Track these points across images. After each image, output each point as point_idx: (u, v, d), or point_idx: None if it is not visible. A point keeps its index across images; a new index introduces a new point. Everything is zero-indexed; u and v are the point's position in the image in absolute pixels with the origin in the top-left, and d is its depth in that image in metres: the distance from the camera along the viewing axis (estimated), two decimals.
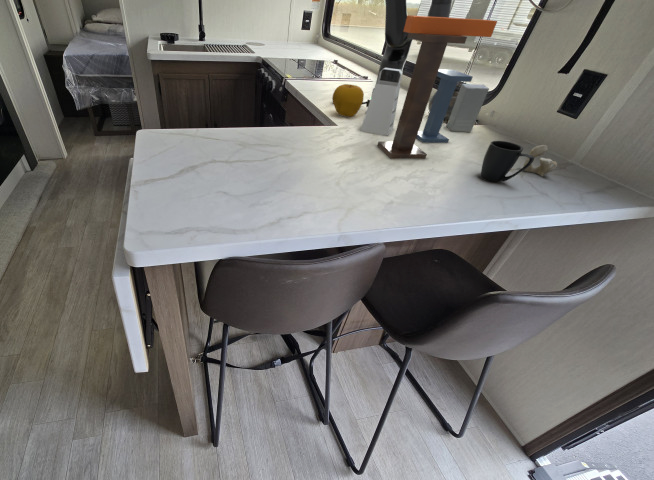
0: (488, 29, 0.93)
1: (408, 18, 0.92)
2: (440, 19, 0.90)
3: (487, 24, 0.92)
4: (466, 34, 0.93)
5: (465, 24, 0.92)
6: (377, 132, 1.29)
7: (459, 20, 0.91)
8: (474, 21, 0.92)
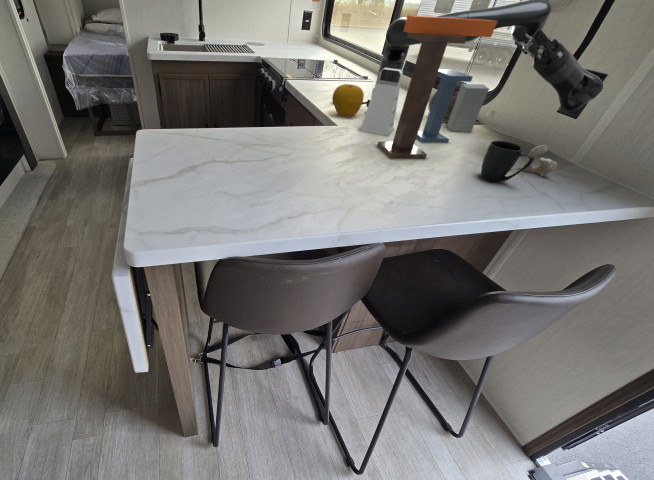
0: (488, 29, 0.93)
1: (408, 18, 0.92)
2: (440, 19, 0.90)
3: (487, 24, 0.92)
4: (466, 34, 0.93)
5: (465, 24, 0.92)
6: (377, 132, 1.29)
7: (459, 20, 0.91)
8: (474, 21, 0.92)
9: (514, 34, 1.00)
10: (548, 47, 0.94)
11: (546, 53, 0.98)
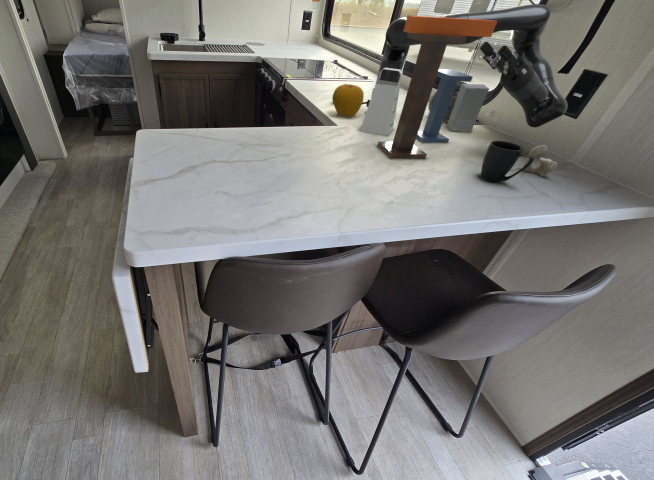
0: (488, 29, 0.93)
1: (408, 18, 0.92)
2: (440, 19, 0.90)
3: (487, 24, 0.92)
4: (466, 34, 0.93)
5: (465, 24, 0.92)
6: (377, 132, 1.29)
7: (459, 20, 0.91)
8: (474, 21, 0.92)
9: (482, 49, 1.01)
10: (513, 63, 0.95)
11: (511, 69, 0.99)
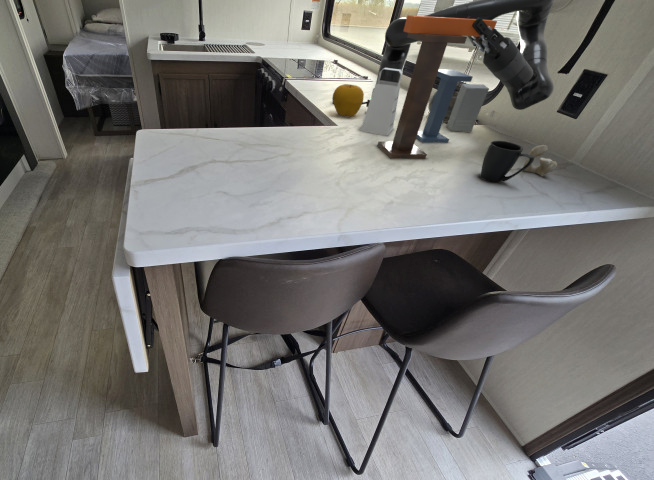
0: None
1: (408, 18, 0.92)
2: (440, 19, 0.90)
3: (487, 24, 0.92)
4: (466, 34, 0.93)
5: (465, 24, 0.92)
6: (377, 132, 1.29)
7: (459, 20, 0.91)
8: (474, 21, 0.92)
9: None
10: (488, 36, 0.92)
11: (494, 47, 0.95)
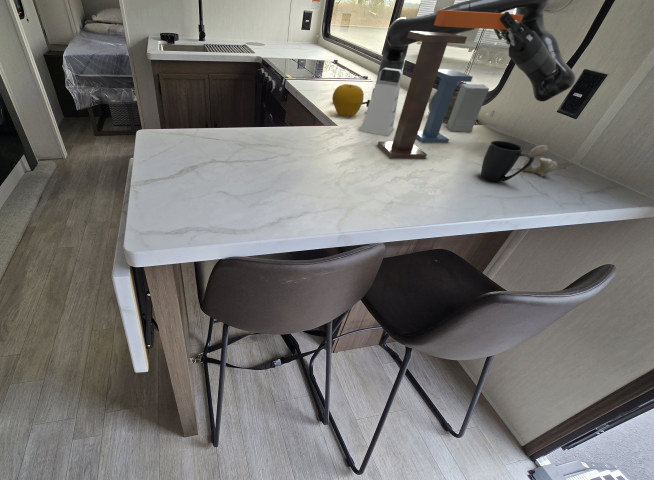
0: None
1: (439, 12, 0.97)
2: (470, 13, 0.96)
3: (514, 17, 0.97)
4: (494, 27, 0.99)
5: (494, 18, 0.97)
6: (377, 132, 1.29)
7: (488, 14, 0.96)
8: None
9: None
10: (515, 30, 0.97)
11: (520, 40, 1.00)
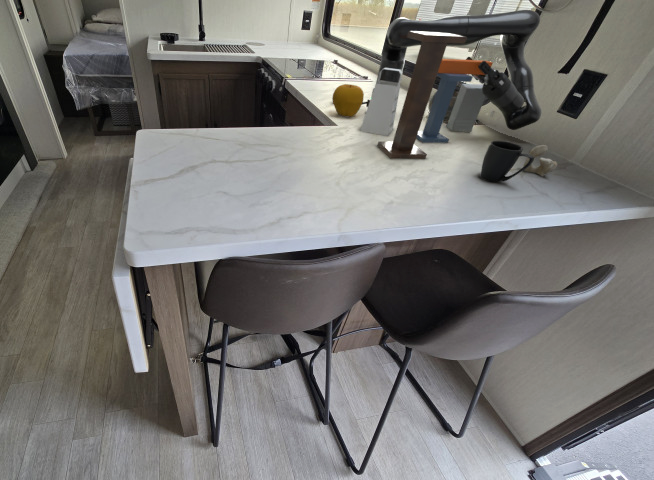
0: None
1: None
2: (446, 61, 1.11)
3: None
4: (467, 73, 1.14)
5: (467, 65, 1.12)
6: (377, 132, 1.29)
7: (461, 62, 1.11)
8: (474, 63, 1.12)
9: None
10: (491, 76, 1.11)
11: (491, 81, 1.15)
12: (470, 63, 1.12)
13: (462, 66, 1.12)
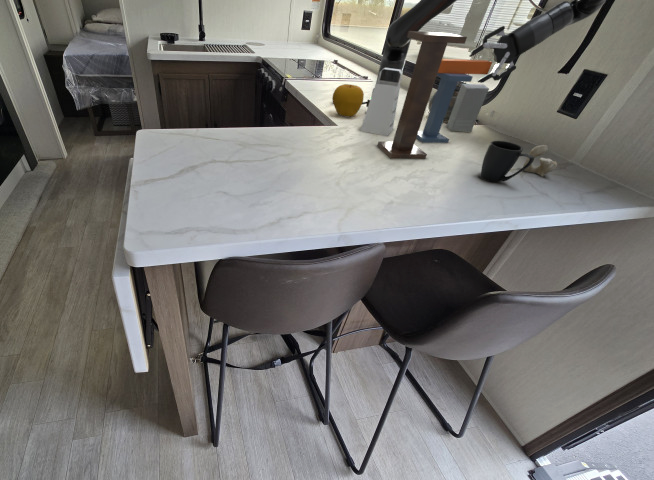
0: (485, 68, 1.14)
1: None
2: (446, 61, 1.11)
3: (484, 64, 1.13)
4: (467, 72, 1.14)
5: (467, 65, 1.12)
6: (377, 132, 1.29)
7: (461, 62, 1.11)
8: (474, 62, 1.12)
9: None
10: (494, 80, 1.16)
11: None
12: (470, 63, 1.12)
13: (462, 66, 1.12)
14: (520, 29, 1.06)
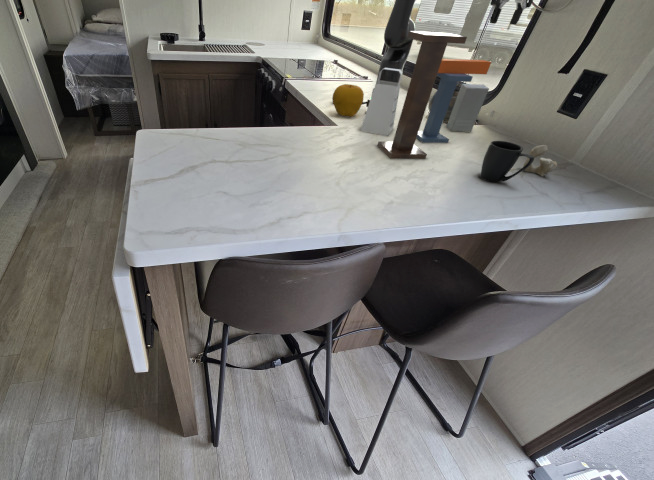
0: (484, 68, 1.14)
1: None
2: (447, 61, 1.11)
3: (483, 64, 1.13)
4: (467, 72, 1.14)
5: (466, 65, 1.12)
6: (377, 132, 1.29)
7: (461, 62, 1.12)
8: (473, 62, 1.12)
9: None
10: None
11: None
12: (470, 63, 1.12)
13: (462, 66, 1.12)
14: None
